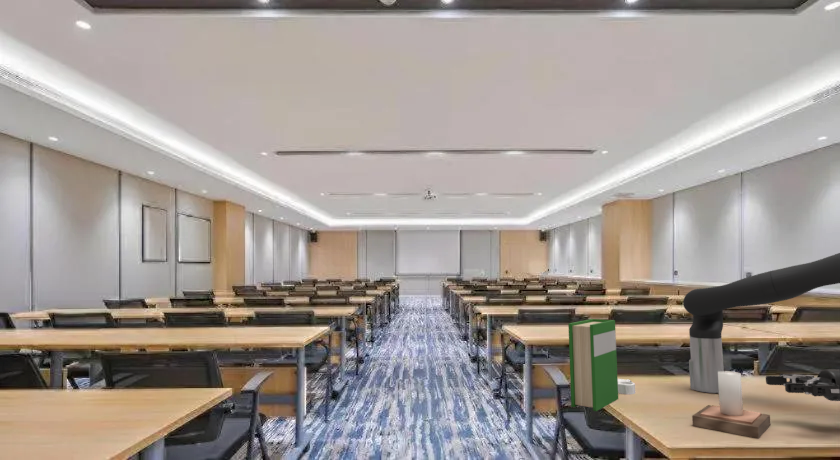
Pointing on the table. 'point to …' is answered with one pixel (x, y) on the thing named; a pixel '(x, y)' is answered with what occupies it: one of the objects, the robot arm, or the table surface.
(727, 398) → the ceramic cylinder
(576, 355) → the hardback book
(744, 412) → the walnut base
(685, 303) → the robot arm
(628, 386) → the white brass knuckles
